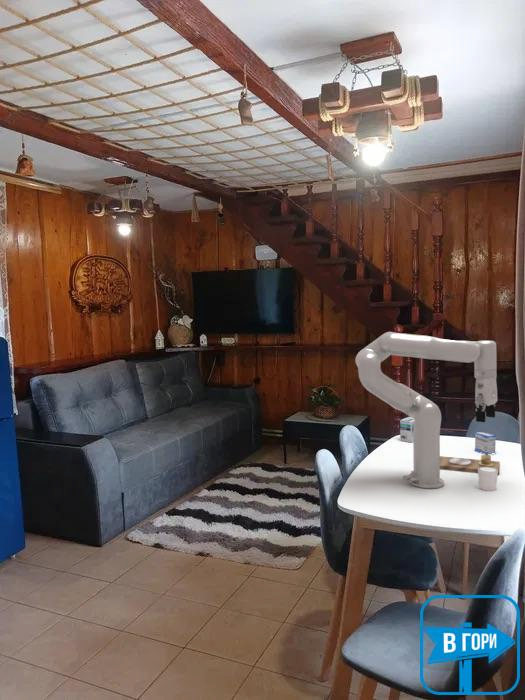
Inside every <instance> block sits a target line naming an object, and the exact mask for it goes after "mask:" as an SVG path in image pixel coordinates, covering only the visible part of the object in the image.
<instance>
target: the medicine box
mask: <svg viewBox="0 0 525 700" xmlns="http://www.w3.org/2000/svg"><path fill="white" fill-rule="evenodd" d="M474 435H475V436H474V438H475V441H474V451H475V452H476V451H479V452H478V453H480V452H482V453H481V454H483V453H485V454H484V455H487V454H492V453H495V454H496V439H497V438H496V435H495V434H491V433H487V432H483V431H479V432H475V434H474ZM492 455H493V454H492Z"/></svg>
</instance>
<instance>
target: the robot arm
mask: <svg viewBox="0 0 525 700" xmlns="http://www.w3.org/2000/svg"><path fill="white" fill-rule="evenodd" d="M390 356H397V357H398V356H399V357H407V358H408V357H409V358H410V357H411V358H416V359H417V358H418V359H427V360H439V361H447V362H456V363H457V362H458V363H468V364H469V363H470V364H471V363H474V365H473V366H474V378H475V379H476V380H475V388H474V389H475V390H474V391H475V393H474V394H475V395H474V399H475V401H474V404H475V405H474V406H475V421H476V422H477V423H478V422H479V423H485V422H486V418H495V417H496V403H497V402H498V387H497V385H498V384H497V378H498V377H497V343H496V341H494V340H487V339H486V340H478V341H472V340H462V339H461V340H454V339H453V340H451V339H444V338H439V337H435V336H431V335H430V336H429V335H422V334H411V333H401V332H393V331H387V332H384V333H383V334H381V335H380V336H378V338H376V339H375V340H373V341H372V342H370V343H369V344H368V345H366V346H365V347H364V348H362V349H361V350H360V351H359V352H358V353H357V354H356V356H355V361H354V362H355V364H356V366H357V368H358V378H359V381H360V383H361V384H362V386H363V387H364V388H365V389H366V391H368V392H369V393H371V394H372V395H374V396H376V397H377V398H379V399H380V400H381V401H382V402H385V403H386V404H388V405H389V406H390V407H392V408H393V409H395V410H398V411H401V413H404V414H405V415H407V416H408V417H412V418H413V419H414V432H413V443H412V444H413V445H412V446H413V451H412V452H413V454H412V455H413V456H412V457H413V462H412V463H413V470H410V474H404V475H402V480H403V481H405V482H406V481H409V484H410V485H412V486H414V487H416V488H420V489H421V488H422V489H438V488H442V487H444V485H445V481H444V480H443V479H442V478H441V477H440V476H441V474H440V473H441V469H440V456H441V453H440V452H441V450H440V447H441V443H440V441H441V439H440V438H441V436H440V435H441V426H442V425H441V423H442V412H441V410H440V408H439V406H438V405H437V403H434V402H433V401H432V400H431V399H428V398H427V397H425V396H424V395H422V394H420V393H419V392H417V391H415V390H414V389H412V388H410V387H409V386H407V385H405V384H403V383H400V382H396V381H395V380H393V379H392V378H390V377H389V376H387V375H386V374H385V373H383V372H382V369H381V363H382V362H384V361H385V360H386V359H387V358H389V357H390Z"/></svg>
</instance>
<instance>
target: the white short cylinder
mask: <svg viewBox="0 0 525 700" xmlns="http://www.w3.org/2000/svg"><path fill="white" fill-rule="evenodd" d="M498 476H499V475H498V470H497V469H495V468H491V467H479V468H478V473H477V477H478V487H479V489H481V490H483V491H489V492H490V491H496V489H497V483H498Z"/></svg>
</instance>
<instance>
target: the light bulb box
mask: <svg viewBox="0 0 525 700" xmlns="http://www.w3.org/2000/svg"><path fill="white" fill-rule="evenodd" d="M399 425H400V426H399V427H400V428H399V438H400V441H401V442H405V443H412V444H413V432H414V419H413V418H412V417H410V416H408V417H404V418H402V419H400V421H399Z"/></svg>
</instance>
